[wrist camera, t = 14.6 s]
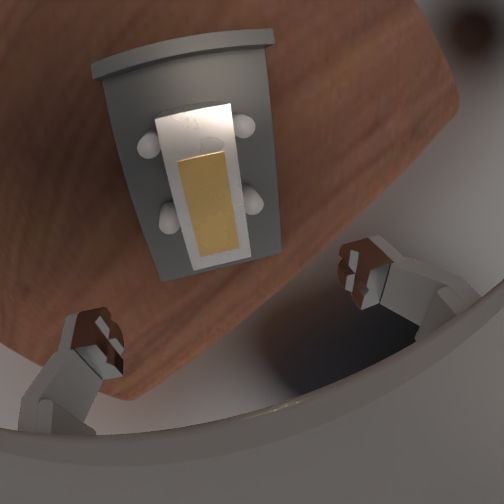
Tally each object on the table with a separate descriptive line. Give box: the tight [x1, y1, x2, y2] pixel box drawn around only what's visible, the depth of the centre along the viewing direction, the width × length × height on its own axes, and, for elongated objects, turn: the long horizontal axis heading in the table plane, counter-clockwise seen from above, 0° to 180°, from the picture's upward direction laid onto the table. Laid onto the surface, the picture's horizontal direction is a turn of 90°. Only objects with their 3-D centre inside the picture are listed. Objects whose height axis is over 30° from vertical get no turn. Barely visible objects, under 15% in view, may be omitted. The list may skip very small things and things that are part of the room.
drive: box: [155, 100, 251, 271], centre depth 18 cm, size 10×4×6 cm, turn 7°
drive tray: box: [90, 29, 282, 282], centre depth 20 cm, size 12×20×4 cm, turn 7°
